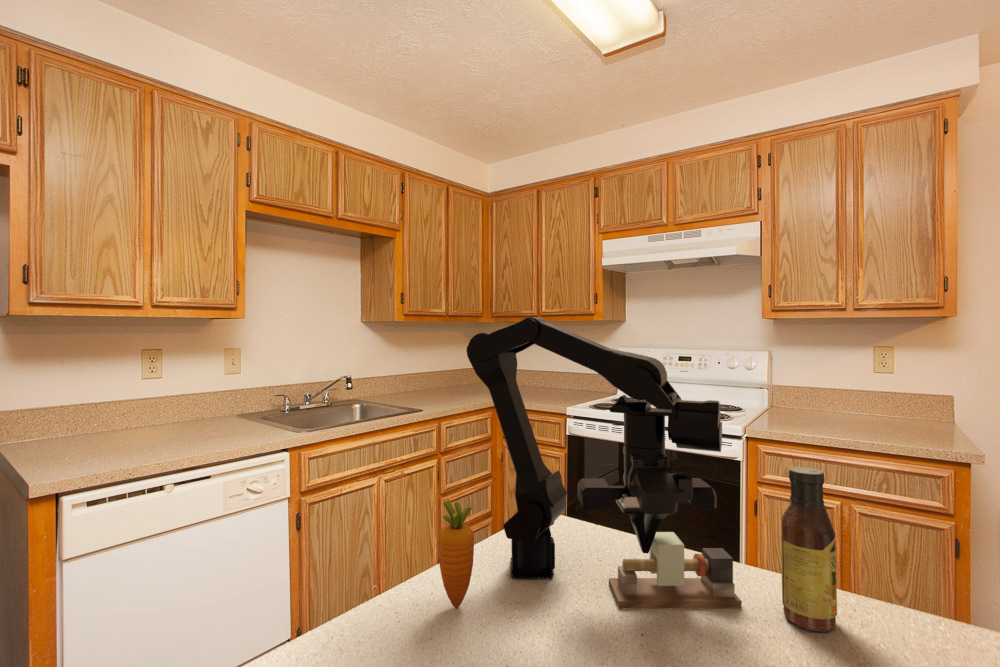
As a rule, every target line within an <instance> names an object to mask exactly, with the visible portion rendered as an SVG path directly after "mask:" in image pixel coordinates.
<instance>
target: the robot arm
mask: <svg viewBox="0 0 1000 667" xmlns="http://www.w3.org/2000/svg"><path fill="white" fill-rule="evenodd" d="M533 345H536V346H538V347H541V348H542V349H545V350H547V351H549V352H551V353H554V354H555V355H558V356H560V357H563V358H565V359H566V360H569V361H570V362H571V361H572V362H574V363H575V364H577V365H580V366H583V367H585V368H587V369H589V370H592V371H594V372H595V373H597V374H598V375H600V376H602V377H603V379H605V380H606V381H607V382H608V383H609V384H610V385H611V386H613V387H615V388H616V389H617V390H619V391H620V392H622V393H623V395H621V396H619V398H618V399H617V401H616V402H615V403H614V404H613V405H612V406H610V407H609V410H608V411H609V412H610V413H616V414H617V413H618V414H623V447H622V454H623V471H624V472H623V474H622V476H623V477H622V481H623V485H609V484H608V483H607V481H606V479H605V478H601V477H600V478H598V477H597V478H596V477H595V478H592V477H591V478H582V477H581V479H580V480H579V481H578V482H577V489H576V490H577V495H576V496H577V498H578V501H579V503H580V505H581V508H582V509H585V510H607V509H608V507H610V506H611V504H612V501H615V502H616V504H617V506H618V507H619V509H620V511H621V512H622V514H624V515H628V518H629V520H630V522H631V524H632V528H633V530H634V533H635V535H636V539H637V542H638V545H639V547H640V550H641V552H642V553H643V554H650V548H651V545H652V542H653V540H654V537H655V534H656V532H658V529H659V528H660V525H661V523H662V521H663V520H664V519H665V518H666V517H667V516H669V515H675V514H676V513H677V512H678V506H679V504H682V503H683V504H684V503H685V504H688V503H689V504H690V505H691V506H692V507H693V508H694V509H695V510H715V509H717V506H718V498H717V492H716V490H715V489H714V488H713V486H711V485H709V484H708V483H707V482H706V481H705V480H703V479H701V478H700V477H692V476H691V474H690V473H688V472H687V473H686V472H685V473H683V472H682V473H679V472H678V473H677V472H676V473H671V471H670V469H669V460H668V455H666V417H667V436H668V440H670V441H671V443H672V444H675V446H676V448H677V449H687V450H697V451H707V452H716V453H717V452H718V453H722V447H723V446H722V445H723V444H722V443H723V422H722V421H721V410H720V404H721V403H720V401H719V400H711V399H710V400H709V399H708V400H704V401H703V400H702V401H701V400H686V399H685V400H684V399H682V397H681V396H680V395H679V394H678V392H677V391H676V390H675V388H674V387H673V386H672V385H671V384H670V382H669V380H668V372H667V370H666V368H665V365H664V364H663V362H662V361H661V360H659V359H657V358H655V357H651V356H648V355H644V354H638V353H634V352H628V351H623V350H618V349H615V348H610V347H607V346H605V345H603V344H601V343H598V342H596V341H593V340H591V339H588V338H586V337H583V336H582V335H579V334H577V333H575V332H572V331H569V330H567V329H565V328H562V327H559V326H558V325H555V324H554V323H551V322H549V321H547V320H546V319H544V318H543V317H538V316H537V317H535V316H532V317H531V316H529V317H526V318H525V317H524V319H521V320H520V321H519V322H516V323H514V324H511V325H508V326H506V327H503V328H500V329H498V330H494V331H492V332H480V333H476V334H475V335H473V336H472V337H471V338H470V340H469V342H468V344H467V346H466V356H467V359H468V361H469V363H470V365H471V367H472V368H473V370H474V373H475V375H476V376H477V377H478V379H480V381H481V382H483V384H484V385H485V386H486V387H487V389H488V391H489V394H490V397H491V400H492V403H493V406H494V409H495V412H496V416H497V418H498V422H499V425H500V428H501V431H502V434H503V438H504V441H505V444H506V446H507V449H508V453H509V456H510V458H511V462H512V466H513V468H514V471H515V488H514V489H515V490H514V498H515V504H516V511H517V512H516V513H515V514H514V515H512V516H511V517H510V518H509V519H508V520H507V521H505V523H503V525H502V526H503V530H504V532H505V533H504V534H505V536H506V538H507V539H509V540H511V557H510V578H512V579H519V580H520V579H523V580H524V579H525V580H526V579H553V578H554V573H553V570H555V569H556V553H555V552H556V544H555V540H554V539H555V538H554V537H553V536H552V532H551V528H550V527H551V526H553V525H554V524H555V522H556V520H557V519H558V518H559V517H560V516H561V515H562V514H563V513H564V511H565V509H566V507H567V499H566V496H568V494H569V492H568V491H567V489H565V486H564V484H563V479H562V474H561V473H560V470H556V471H554V472H551V470H550V469H549V468H548V467H547V465H546V464H545V463H544V461H543V458H542V455H541V451H540V447H539V446H538V442H537V439H536V437H535V434H534V430H533V427H532V424H531V422H530V418H529V415H528V413H527V409H526V407H525V402H524V401H523V397H522V394H521V392H520V388H519V385H518V382H517V373H518V371H517V370H518V359H517V354H519V353H522V352H523V351H525V350H527V349H529V348H530V347H532V346H533ZM628 397H630V398H631V399H634V400H630V399H629V398H628Z"/></svg>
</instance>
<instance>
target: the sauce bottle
mask: <svg viewBox="0 0 1000 667" xmlns="http://www.w3.org/2000/svg"><path fill="white" fill-rule="evenodd" d="M788 478H789V481H790V482H789V483H790V496H789V500H790V503H789V505H788V507H787V508H786V509H785V510H784V511H783V514H782V517H781V536H780V543H781V544H780V555H781V557H780V559H781V560H780V561H781V602H782V605H783V607H782V609H783V614H784V617H785V618H786V619H787V620H788V621H789V622H791V623H793V624H794V625H795V626H798V627H800V628H802V629H805V630H808V631H813V632H821V633H824V632H825V633H826V632H829V631H832V630H834V628H835V627H836V623H837V621H836V618H837V616H838V598H837V597H838V594H837V588H838V587H837V585H838V584H837V581H838V580H837V550H836V549H837V546H836V545H837V544H836V543H837V541H836V539H837V538H836V537H837V536H836V532H835V529H834V528H833V524H832V522H831V518H830V516H829V513H828V511H827V509H826V506H825V501H824V484H825V482H826V481H825V473H824V471H823V470H821V469H819V468H818V469H817V468H813V467H807V466H792V467H789V469H788Z"/></svg>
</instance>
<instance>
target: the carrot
mask: <svg viewBox="0 0 1000 667" xmlns="http://www.w3.org/2000/svg"><path fill="white" fill-rule="evenodd" d="M453 504H454V506H453ZM453 504H452V502H451V501H450V499H446V500H444V502H443V506H444V508H445V509H446V511H447V513H448V514H443V515H442V519H444V520H445V521H446V522H447V523H448V524H446V525H445V526H444V527H443V528H442V529H441V530H439V531H438V537H437V538H438V539H437V540H438V541H437V542H438V543H437V544H438V560H439V562H438V564H439V569H440V574H441V580H442V585H443V587H444V590H445V593H446V596H447V597H448V599H449V601H450V603H451V605H452V607H454V609H458V608H460V606H461V605H462V603H463V601H464V599H465V596H466V595H467V591H468V590H469V586H470V582H471V577H472V573H473V572H472V571H473V566H474V553H475V552H474V551H475V550H474V548H475V534H474V531H473V530H472V529H471V528H470V527H469V526H468V525H467V524H465V521H466V519H467V517H468V515H469V513H471V511H472V508H473V507H472V506H471V505H466V506H465V507H464V509H463V510H462V506H461V503H460V502H454V503H453ZM454 507H455V509H454Z"/></svg>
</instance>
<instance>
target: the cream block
mask: <svg viewBox="0 0 1000 667" xmlns="http://www.w3.org/2000/svg"><path fill="white" fill-rule="evenodd" d="M649 559H657V571H649V572H650V574H651V575H652V574H654V575H655V574H656V578H657V584H658V586H684V578H685V571H684V559H685V544H684V543H683V541H682V540H681V539H680V537H679V536H678V535H677V534H676V533H675V532H674V531H657V532H656V534H655V537H654V540H653V542H652V545H651V548H650V550H649Z"/></svg>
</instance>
